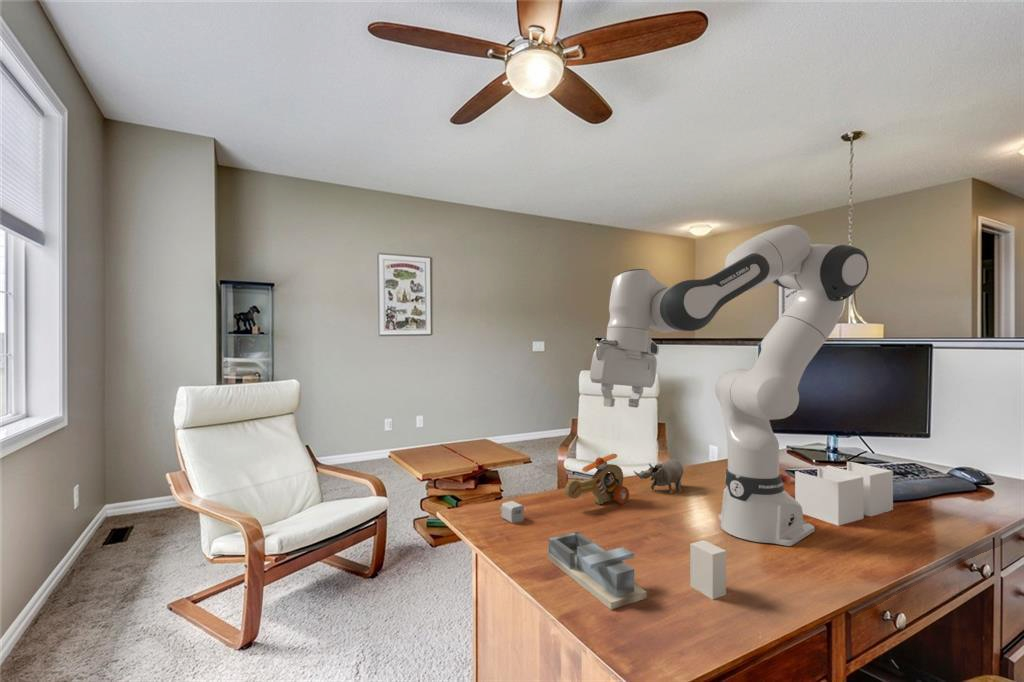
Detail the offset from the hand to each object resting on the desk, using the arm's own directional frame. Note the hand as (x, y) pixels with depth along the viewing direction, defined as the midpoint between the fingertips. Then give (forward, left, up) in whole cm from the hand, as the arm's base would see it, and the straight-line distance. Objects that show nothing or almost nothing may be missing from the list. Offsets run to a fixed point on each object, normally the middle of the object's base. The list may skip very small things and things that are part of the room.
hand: (621, 406), depth 100 cm
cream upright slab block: (-5, +18, -32) cm, 37 cm away
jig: (+11, +4, -32) cm, 34 cm away
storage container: (-72, +6, -32) cm, 79 cm away
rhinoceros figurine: (-41, -29, -32) cm, 59 cm away
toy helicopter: (-15, -28, -32) cm, 45 cm away
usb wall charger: (+12, -30, -32) cm, 45 cm away
